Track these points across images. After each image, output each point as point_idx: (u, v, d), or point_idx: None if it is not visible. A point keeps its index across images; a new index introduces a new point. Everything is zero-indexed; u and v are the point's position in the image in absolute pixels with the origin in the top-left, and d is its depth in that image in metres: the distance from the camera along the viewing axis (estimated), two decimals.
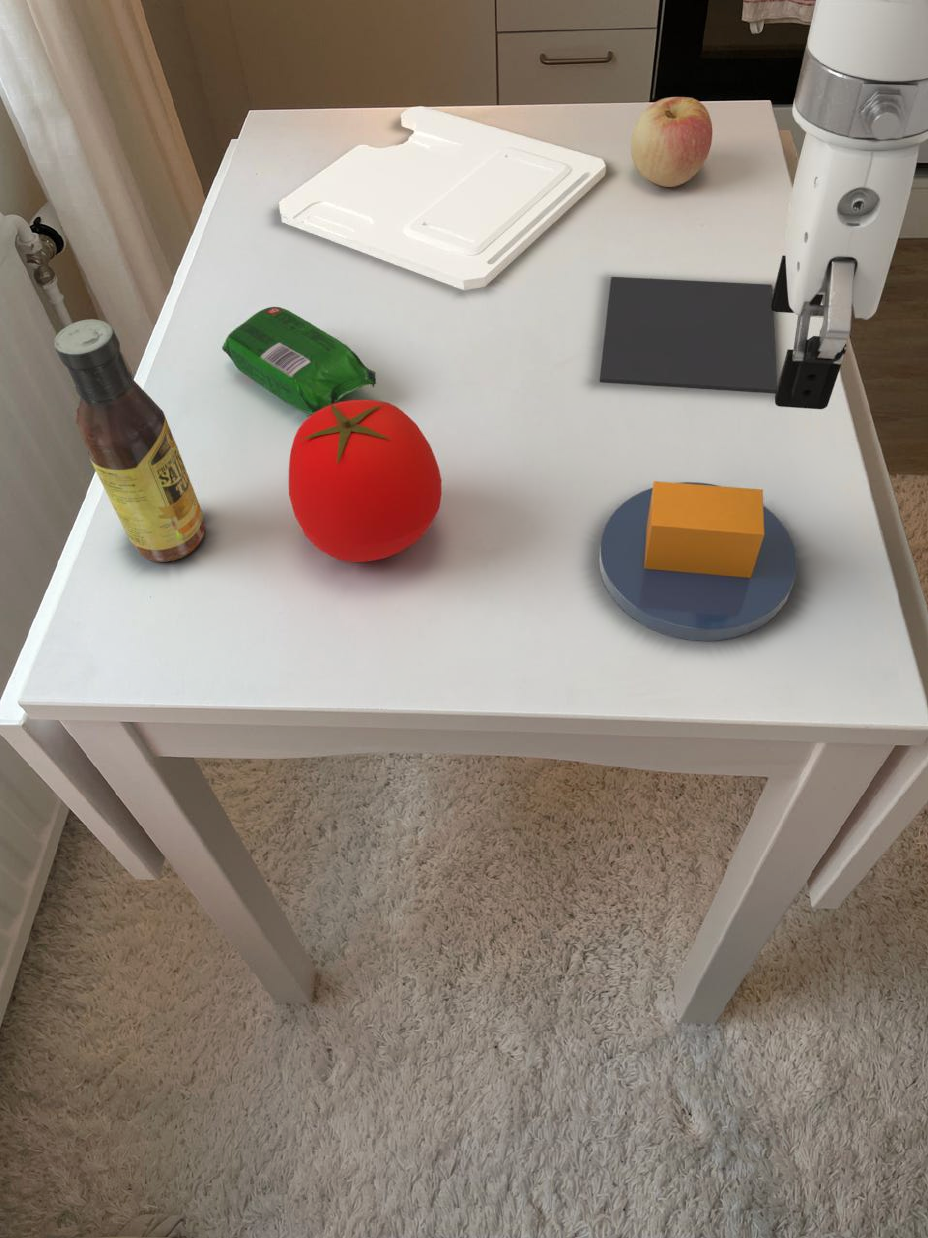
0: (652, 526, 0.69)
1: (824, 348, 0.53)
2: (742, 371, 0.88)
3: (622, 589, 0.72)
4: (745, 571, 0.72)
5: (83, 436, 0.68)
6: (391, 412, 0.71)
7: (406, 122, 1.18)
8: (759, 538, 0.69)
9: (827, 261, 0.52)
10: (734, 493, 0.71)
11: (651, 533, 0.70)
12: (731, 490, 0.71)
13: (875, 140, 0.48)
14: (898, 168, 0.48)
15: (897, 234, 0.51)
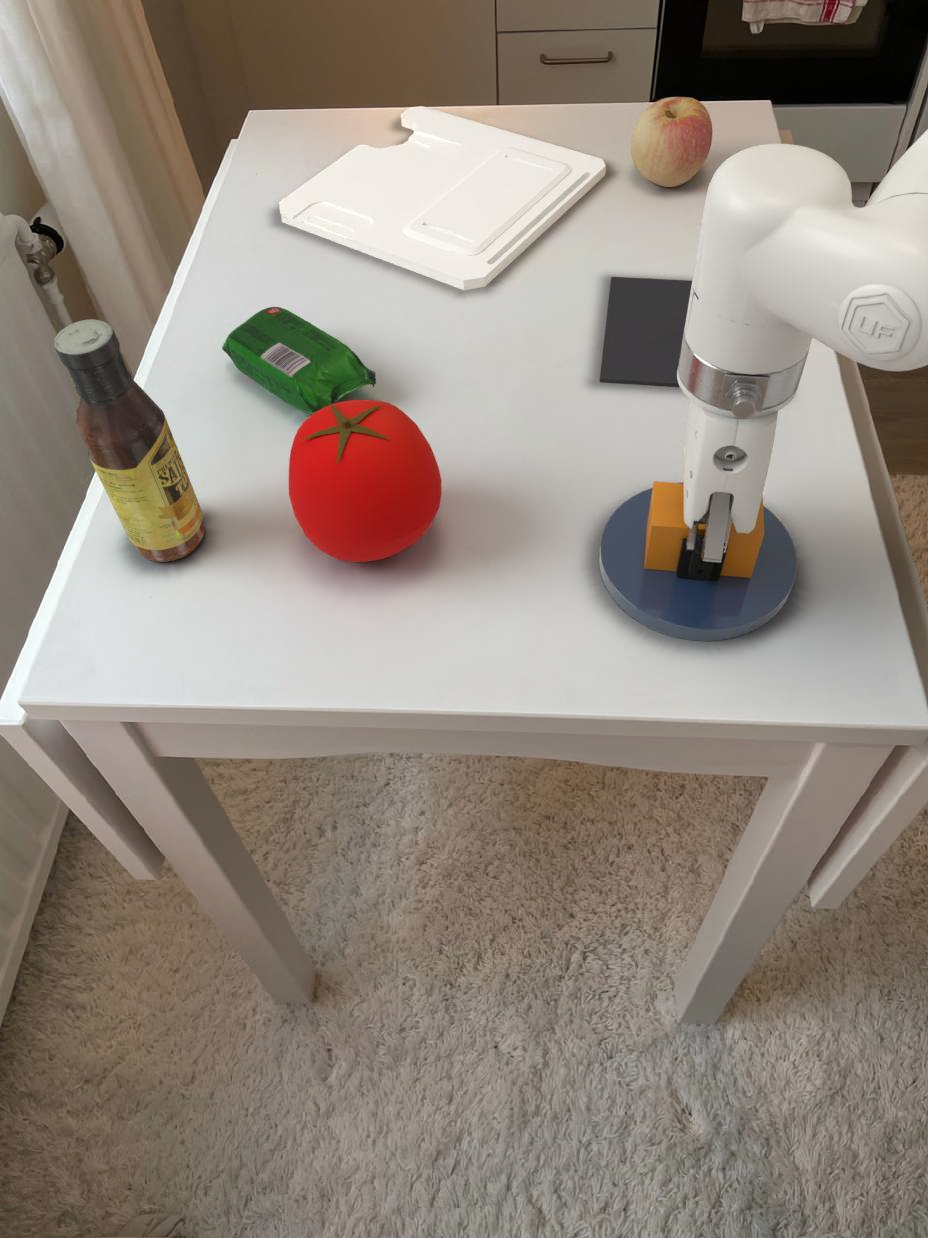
0: (652, 526, 0.69)
1: None
2: None
3: (622, 589, 0.72)
4: (745, 571, 0.72)
5: (83, 436, 0.68)
6: (391, 412, 0.71)
7: (406, 122, 1.18)
8: (759, 538, 0.69)
9: (709, 494, 0.62)
10: None
11: (651, 533, 0.70)
12: None
13: None
14: (759, 433, 0.58)
15: (764, 477, 0.61)
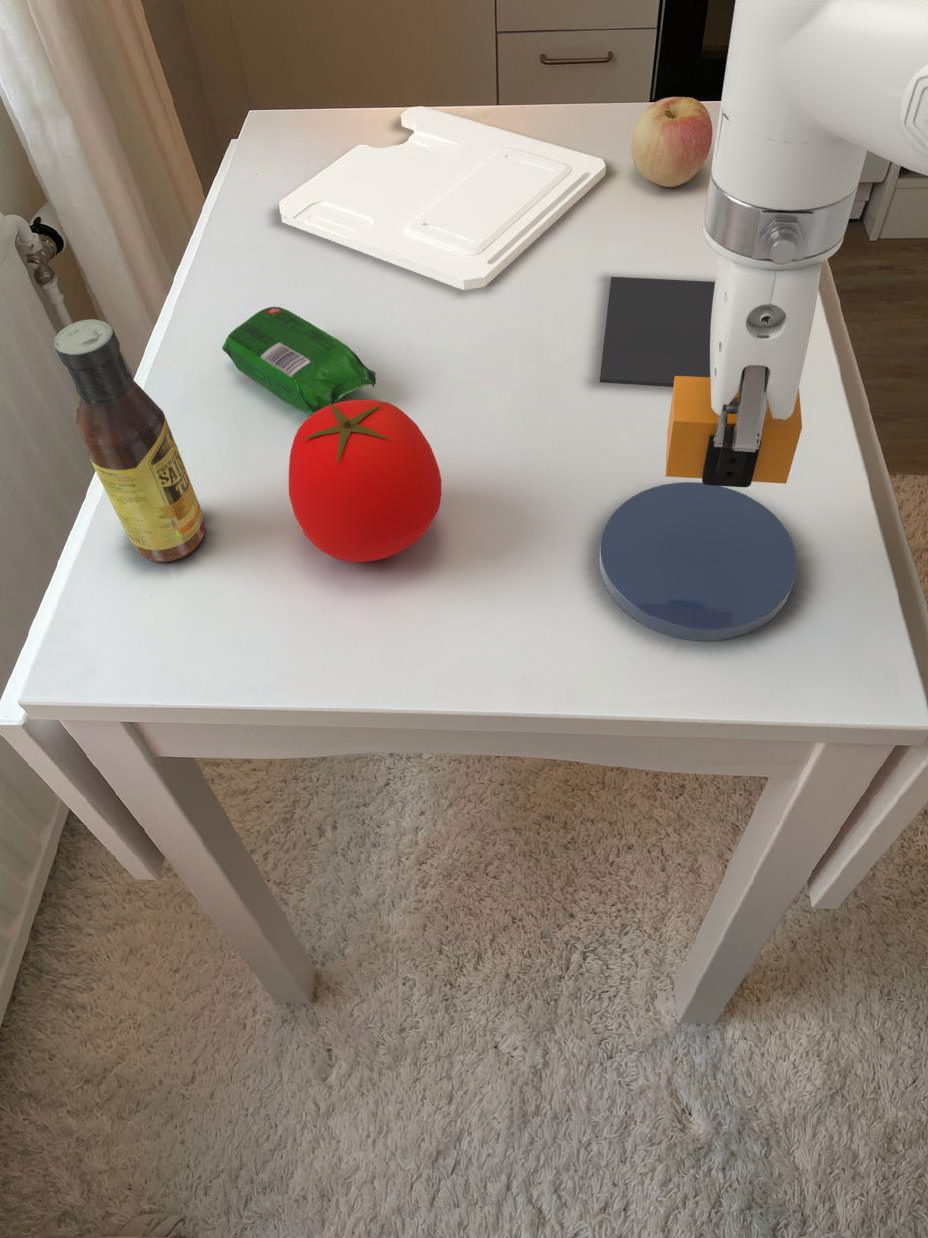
0: (674, 422, 0.61)
1: None
2: None
3: (622, 589, 0.72)
4: (780, 476, 0.64)
5: (83, 436, 0.68)
6: (391, 412, 0.71)
7: (406, 122, 1.18)
8: (796, 432, 0.60)
9: (741, 369, 0.54)
10: None
11: (673, 431, 0.62)
12: None
13: None
14: (801, 287, 0.50)
15: (806, 345, 0.53)
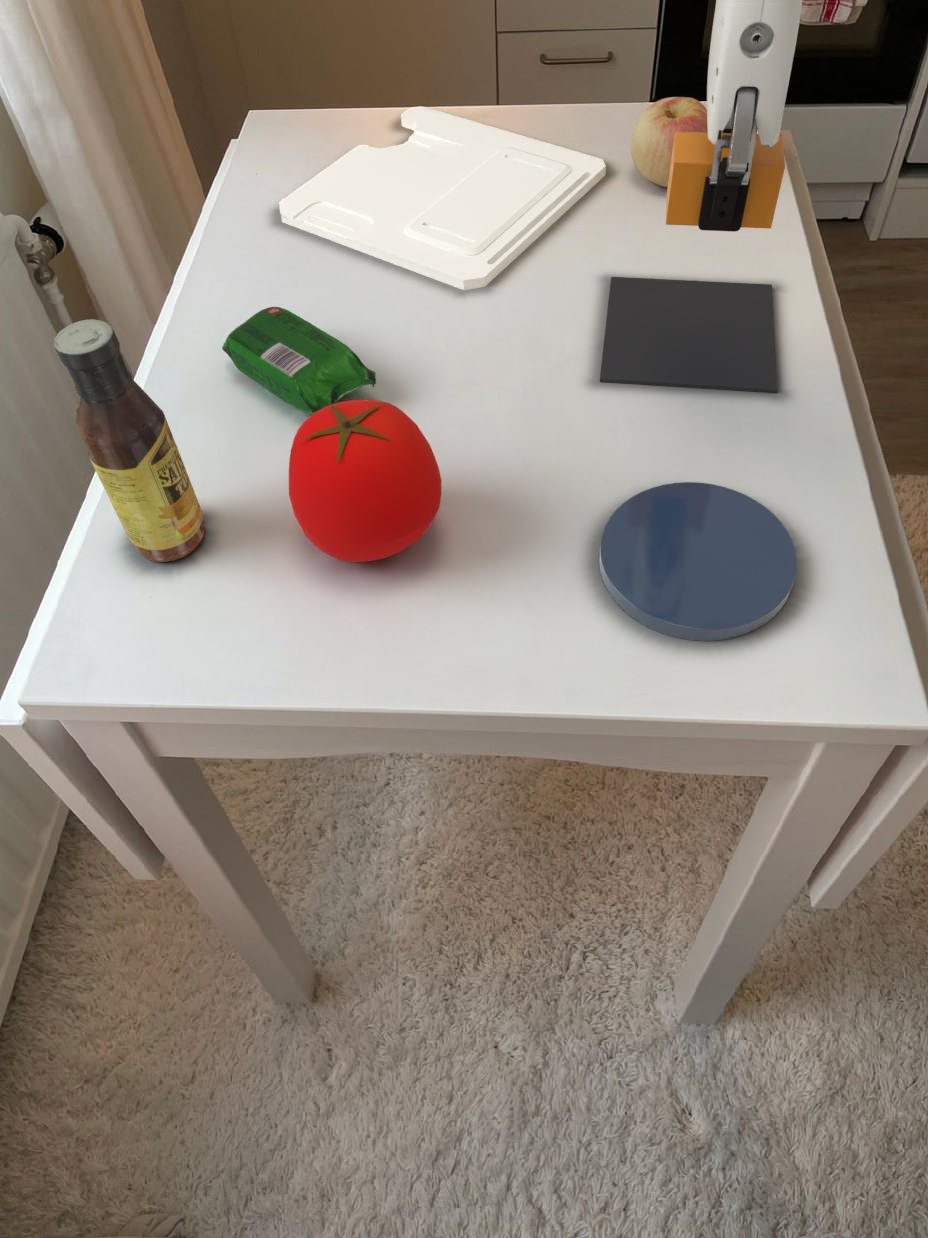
0: (675, 163, 0.70)
1: (729, 173, 0.67)
2: (742, 371, 0.88)
3: (622, 589, 0.72)
4: (765, 220, 0.73)
5: (83, 436, 0.68)
6: (391, 412, 0.71)
7: (406, 122, 1.18)
8: (780, 171, 0.70)
9: (734, 91, 0.63)
10: None
11: (673, 173, 0.71)
12: None
13: None
14: (786, 4, 0.59)
15: (790, 65, 0.62)
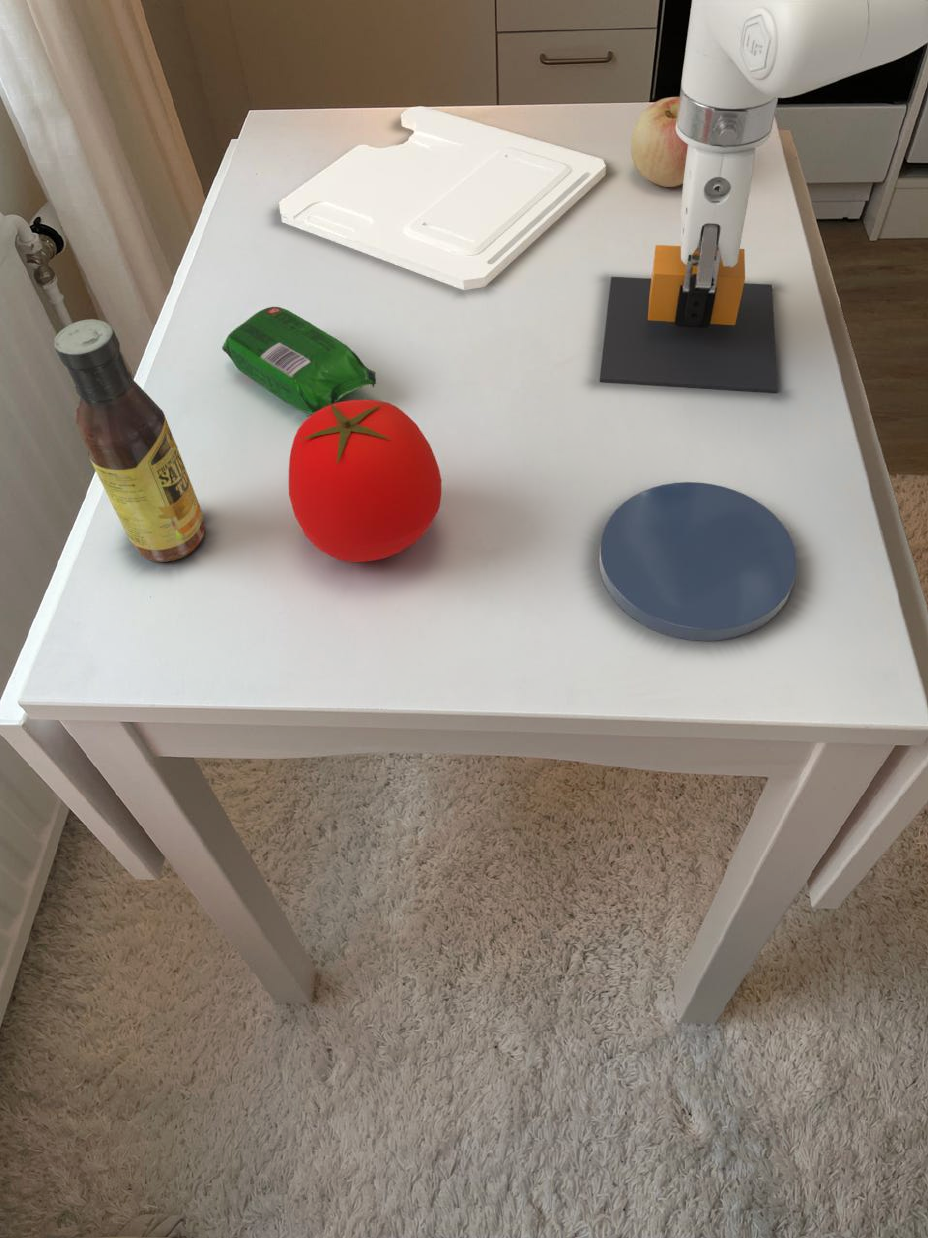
0: (654, 274, 0.85)
1: (697, 288, 0.82)
2: (742, 371, 0.88)
3: (622, 589, 0.72)
4: (730, 318, 0.88)
5: (83, 436, 0.68)
6: (391, 412, 0.71)
7: (406, 122, 1.18)
8: (741, 282, 0.85)
9: (700, 226, 0.78)
10: None
11: (653, 282, 0.86)
12: None
13: (725, 146, 0.74)
14: (740, 164, 0.74)
15: (744, 208, 0.77)
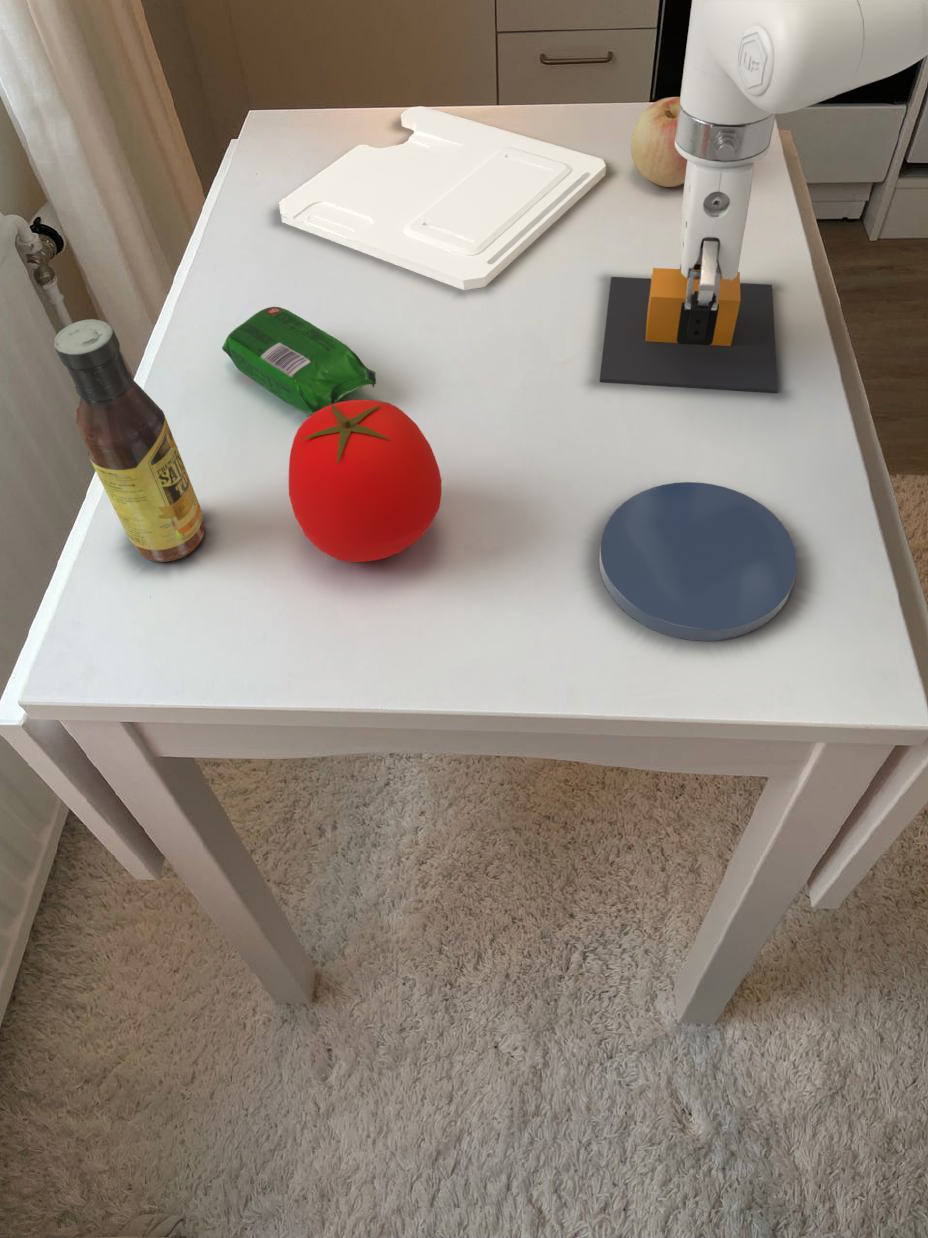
0: (651, 297, 0.87)
1: (700, 298, 0.80)
2: (742, 371, 0.88)
3: (622, 589, 0.72)
4: (726, 340, 0.90)
5: (83, 436, 0.68)
6: (391, 412, 0.71)
7: (406, 122, 1.18)
8: (736, 305, 0.86)
9: (700, 240, 0.79)
10: None
11: (651, 304, 0.88)
12: None
13: (723, 161, 0.75)
14: (739, 179, 0.75)
15: (744, 222, 0.77)
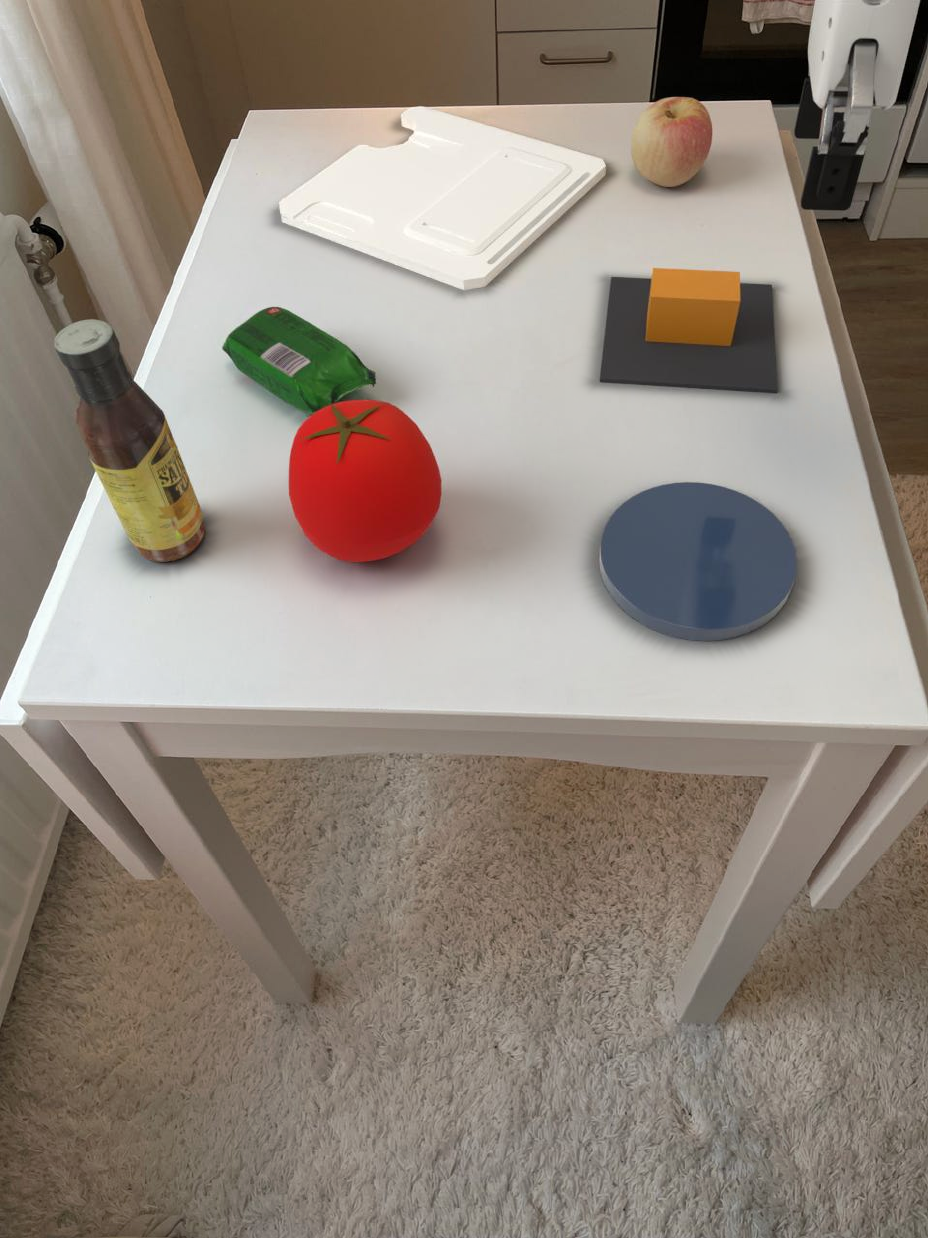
0: (651, 297, 0.87)
1: (848, 128, 0.57)
2: (742, 371, 0.88)
3: (622, 589, 0.72)
4: (726, 340, 0.90)
5: (83, 436, 0.68)
6: (391, 412, 0.71)
7: (406, 122, 1.18)
8: (736, 305, 0.86)
9: (850, 44, 0.56)
10: (717, 274, 0.89)
11: (651, 304, 0.88)
12: (714, 272, 0.89)
13: None
14: None
15: (915, 12, 0.55)
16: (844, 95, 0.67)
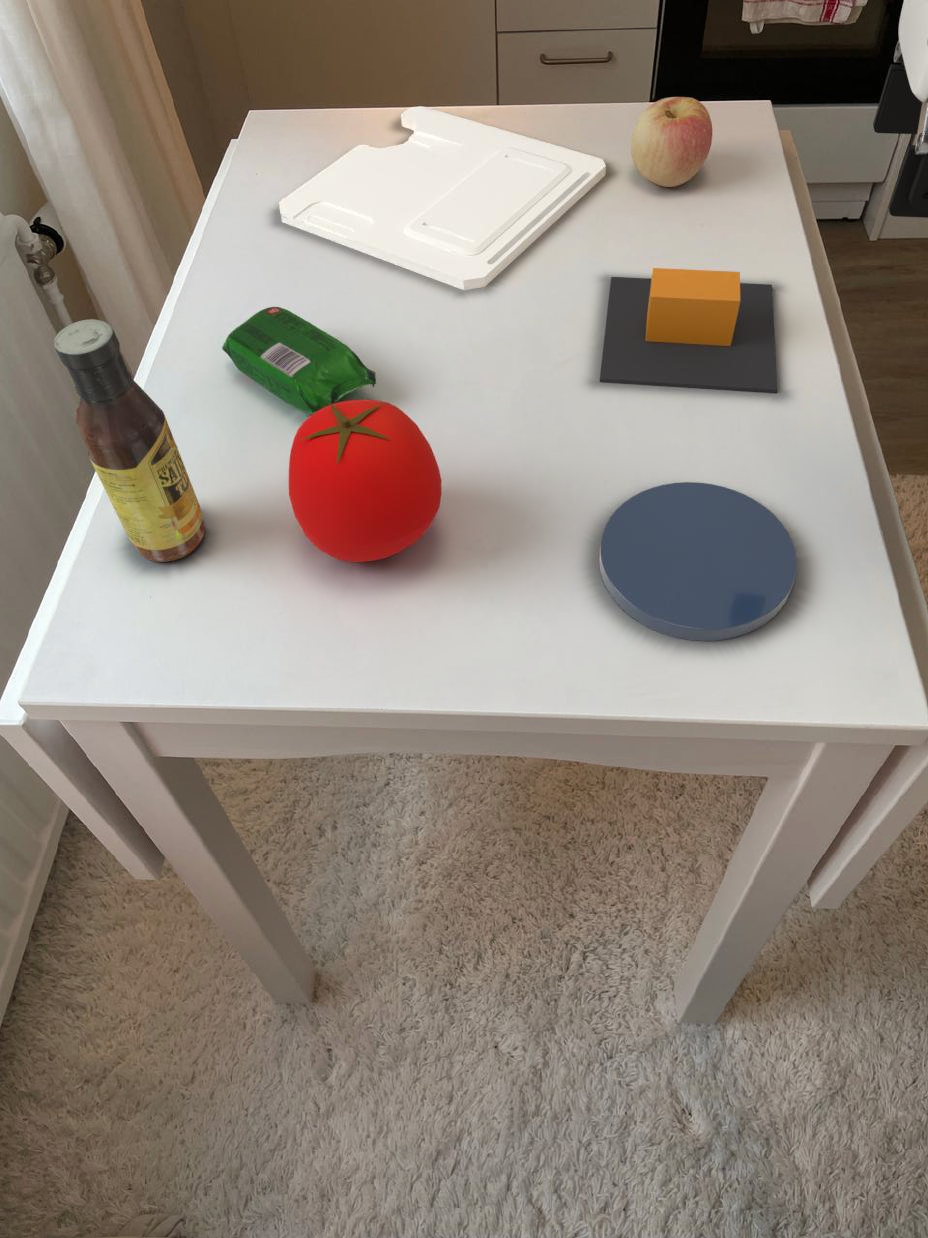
0: (651, 297, 0.87)
1: None
2: (742, 371, 0.88)
3: (622, 589, 0.72)
4: (726, 340, 0.90)
5: (83, 436, 0.68)
6: (391, 412, 0.71)
7: (406, 122, 1.18)
8: (736, 305, 0.86)
9: None
10: (717, 274, 0.89)
11: (651, 304, 0.88)
12: (714, 272, 0.89)
13: None
14: None
15: None
16: None
